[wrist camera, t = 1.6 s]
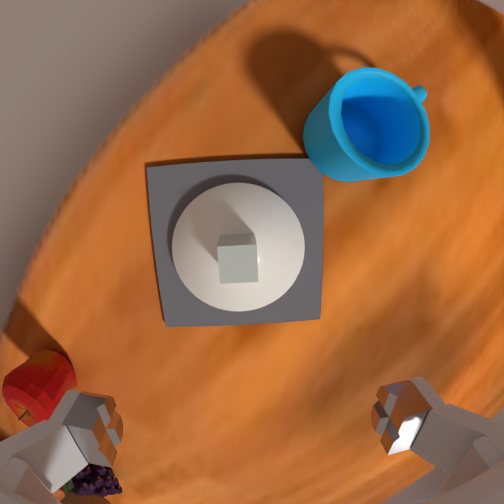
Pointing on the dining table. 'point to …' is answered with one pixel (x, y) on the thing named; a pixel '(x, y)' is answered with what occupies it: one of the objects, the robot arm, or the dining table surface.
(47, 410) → the apple
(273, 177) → the mat
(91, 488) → the fruit
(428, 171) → the dining table surface
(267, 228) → the lid
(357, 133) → the mug
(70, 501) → the vase
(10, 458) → the robot arm
